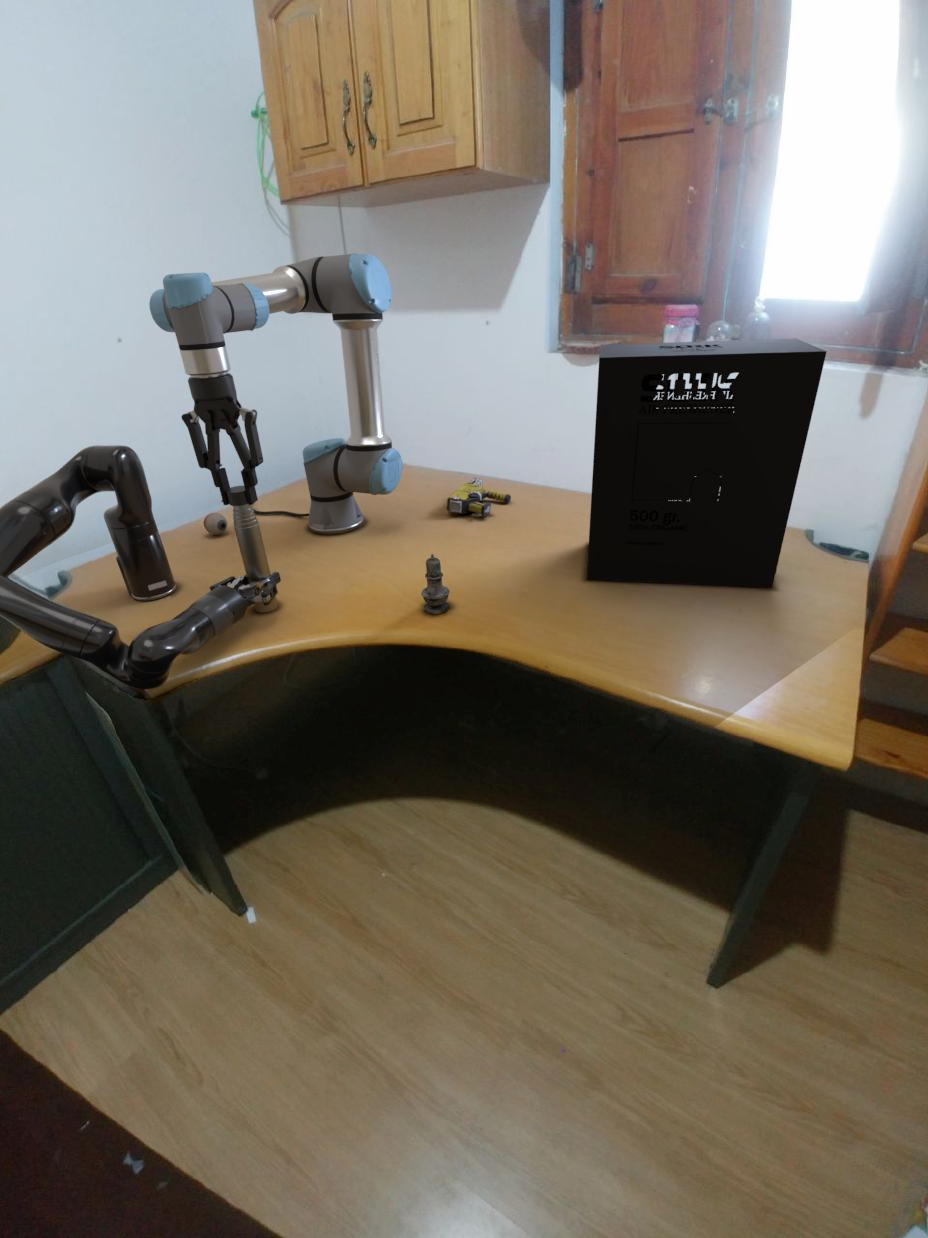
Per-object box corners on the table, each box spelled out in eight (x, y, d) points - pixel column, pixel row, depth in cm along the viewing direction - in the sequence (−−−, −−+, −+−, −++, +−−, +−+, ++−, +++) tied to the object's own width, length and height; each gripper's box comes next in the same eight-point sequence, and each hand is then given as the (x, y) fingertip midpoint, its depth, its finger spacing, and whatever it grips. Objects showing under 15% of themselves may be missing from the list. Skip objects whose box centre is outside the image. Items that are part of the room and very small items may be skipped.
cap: (242, 506, 115) (239, 493, 113) (224, 505, 116) (220, 491, 115) (257, 499, 118) (254, 486, 117) (239, 497, 120) (236, 484, 118)
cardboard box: (752, 548, 142) (795, 338, 119) (772, 587, 124) (826, 351, 102) (589, 543, 149) (600, 344, 127) (586, 579, 132) (599, 357, 110)
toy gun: (519, 482, 184) (472, 475, 188) (496, 505, 164) (445, 497, 168) (517, 497, 186) (471, 490, 190) (495, 522, 166) (444, 513, 170)
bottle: (270, 613, 126) (242, 496, 114) (251, 612, 127) (220, 496, 115) (282, 603, 130) (255, 489, 118) (262, 601, 131) (234, 488, 119)
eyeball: (217, 539, 164) (211, 518, 161) (202, 535, 167) (196, 515, 164) (234, 532, 168) (229, 511, 166) (220, 528, 172) (214, 508, 169)
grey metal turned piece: (447, 614, 122) (443, 560, 116) (419, 613, 123) (413, 559, 117) (453, 601, 127) (450, 548, 121) (426, 599, 128) (421, 547, 122)
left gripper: (189, 625, 118) (243, 586, 132) (251, 634, 114) (300, 593, 127) (178, 591, 114) (235, 555, 128) (241, 599, 110) (293, 561, 124)
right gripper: (265, 369, 108) (290, 495, 119) (173, 373, 110) (207, 497, 121) (248, 375, 101) (277, 508, 113) (151, 379, 103) (189, 510, 115)
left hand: (267, 574), depth 128 cm, fingers closed on bottle, 4 cm apart
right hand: (240, 502), depth 117 cm, fingers closed on cap, 4 cm apart
